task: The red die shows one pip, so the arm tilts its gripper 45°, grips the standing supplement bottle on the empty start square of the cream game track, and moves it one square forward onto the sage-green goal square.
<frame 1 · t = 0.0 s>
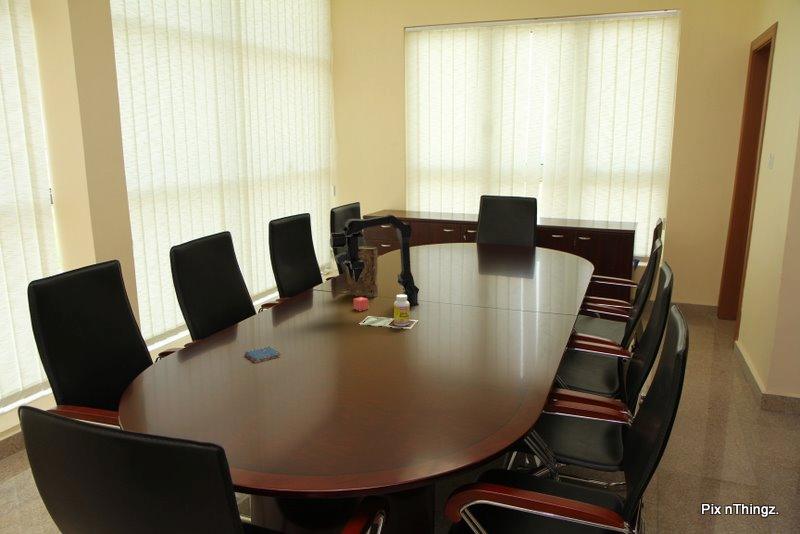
hand: (353, 279, 284), 15 cm above the table, tool pointing down, fingers open, 9 cm apart
book: (362, 295, 314), on the table
game track: (388, 323, 266), on the table
supplement bottle: (401, 324, 265), resting on game track
woven mat: (262, 358, 227), on the table
red die: (361, 309, 288), on the table
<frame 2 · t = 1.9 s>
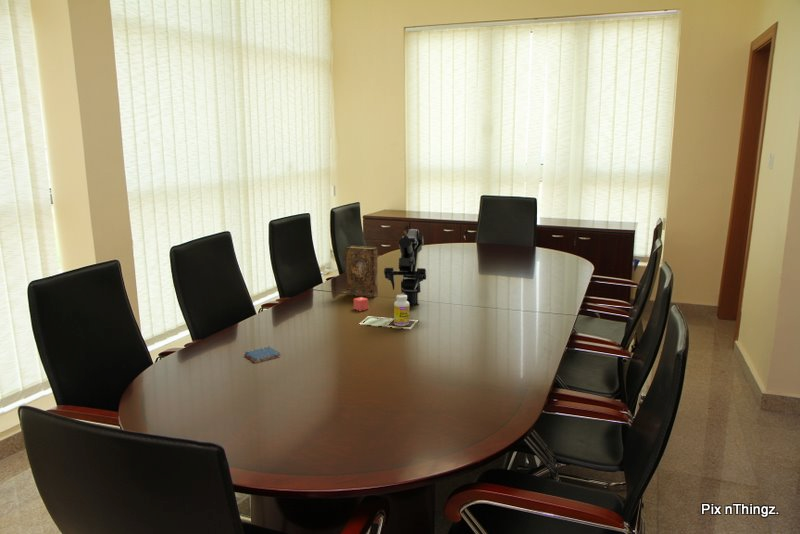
hand: (403, 289, 270), 13 cm above the table, tool tilted 45°, fingers open, 9 cm apart
nothing on the table moved.
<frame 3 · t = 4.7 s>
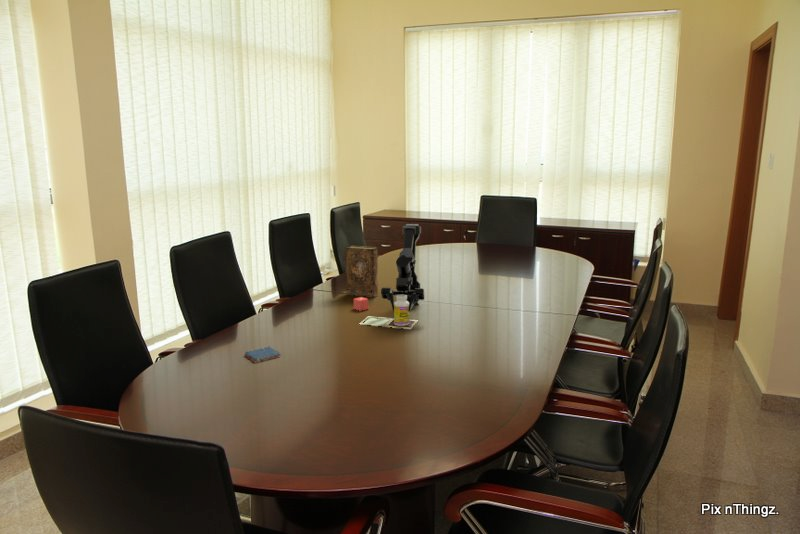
hand: (401, 310, 262), 7 cm above the table, tool tilted 45°, fingers closed on supplement bottle, 7 cm apart
supplement bottle: (401, 324, 265), resting on game track, touching gripper
everything else where it was.
when the fingers open (8 cm above the table, at t = 9.8 s): supplement bottle stays where it is, resting on game track.
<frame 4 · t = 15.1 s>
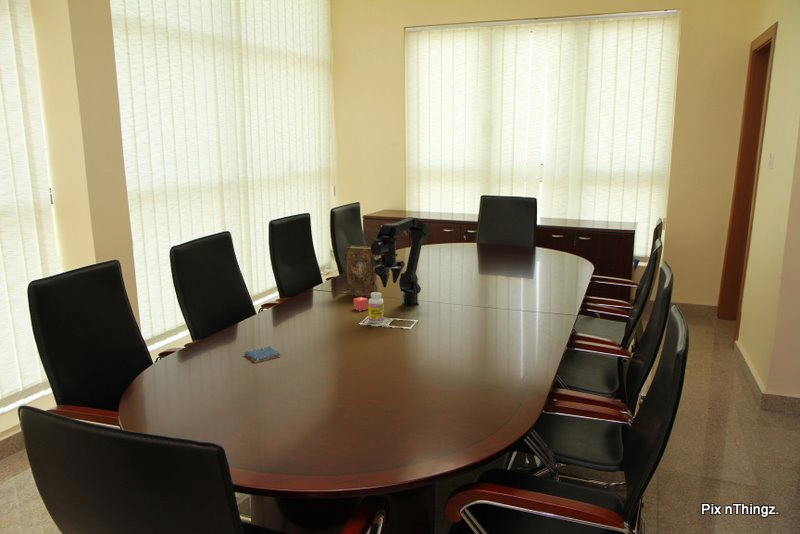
hand: (389, 285, 280), 13 cm above the table, tool pointing down, fingers open, 9 cm apart
supplement bottle: (376, 321, 268), resting on game track
everything else where it was.
at the end: supplement bottle 0.2 cm from the target spot on the game track, point 0.0 cm above the game track's base; supplement bottle tilted 0°; the gripper is holding nothing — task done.
